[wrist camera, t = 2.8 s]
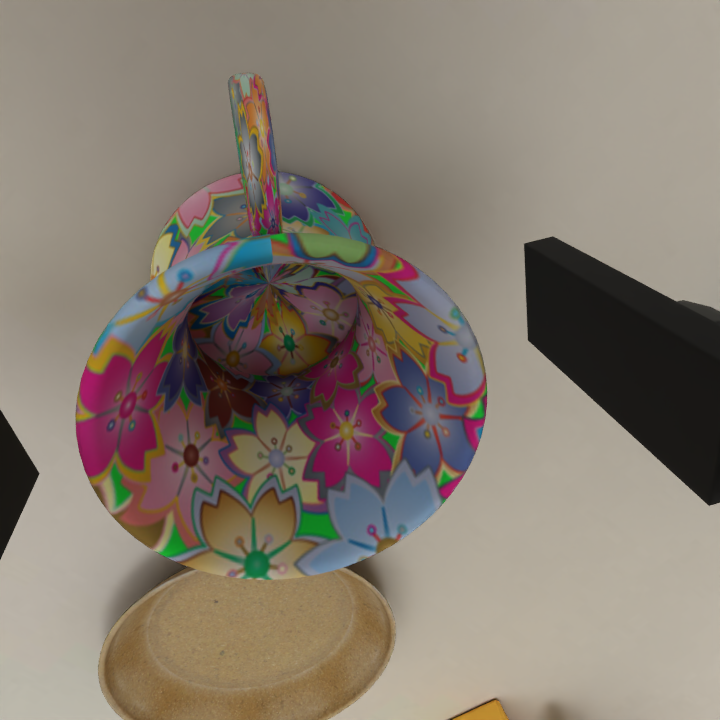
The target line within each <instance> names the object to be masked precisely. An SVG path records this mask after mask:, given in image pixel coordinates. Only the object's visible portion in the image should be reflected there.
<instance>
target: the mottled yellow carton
mask: <svg viewBox="0 0 720 720" xmlns="http://www.w3.org/2000/svg"><path fill="white" fill-rule="evenodd" d="M452 720H509V719H508V717H507V715H506V714H505V712H504V710H503V708H502V706H501V704H500V702H499V701H497V700H493V701H491V702H489V703H486V704H484V705H482V706H480V707H478V708H476V709H473V710H471V711H469V712H467V713H465V714H463V715H460V716H458V717H456V718H454V719H452Z"/></svg>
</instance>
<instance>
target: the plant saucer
mask: <svg viewBox="0 0 720 720" xmlns="http://www.w3.org/2000/svg"><path fill="white" fill-rule="evenodd" d="M395 636H396V627H395V620H394V616H393V613H392V611H391V608H390V606H389V604H388V603H387V601H386V599H385V598H384V597H383V595H382V594H381V593H380V592H379V591H378V590H377V589H376V588H375V587H374V586H373V585H372V584H371V583H370V582H368V581H367V580H366V579H364V578H363V577H361V576H360V575H358V574H357V573H355V572H353V571H352V570H350V569H348V568H347V567H343V568H340V569H336V570H333V571H330V572H325V573H321V574H317V575H312V576H306V577H300V578H291V579H278V580H255V579H241V578H232V577H226V576H221V575H215V574H211V573H207V572H204V571H200V570H196V569H194V568H191V567H187V568H185V569H183V570H182V571H180V572H178V573H176V574H174V575H173V576H171V577H169V578H168V579H166V580H164V581H163V582H161V583H160V584H158V585H157V586H155V587H154V588H153V589H151V590H150V591H149V592H147V593H146V594H145V595H144V596H142V597H141V598H140V599H139V600H138V601H137V602H136V603H134V604H133V605H132V606H131V607H130V608H129V609H128V610H127V611H126V612H125V613H124V614H123V615H122V616H121V617H120V619H119V620H118V621H117V622H116V624H115V625H114V626H113V628H112V629H111V631H110V632H109V634H108V636H107V638H106V640H105V642H104V644H103V647H102V650H101V653H100V658H99V664H98V676H99V683H100V687H101V690H102V693H103V695H104V697H105V699H106V700H107V702H108V703H109V705H110V706H111V707H112V708H113V710H114V711H115V712H116V713H117V714H118V715H119V716H120V717H121V718H122V719H124V720H328V719H329V718H331V717H333V716H335V715H336V714H338V713H340V712H341V711H343V710H344V709H345V708H347V707H349V706H350V705H351V704H353V703H354V702H355V701H356V700H358V699H359V698H360V697H361V696H362V695H363V694H364V693H366V692H367V691H368V690H369V689H370V688H371V686H372V685H373V684H374V683H375V681H376V680H377V679H378V678H379V677H380V676H381V674H382V673H383V671H384V670H385V668H386V666H387V664H388V662H389V660H390V657H391V655H392V652H393V648H394V644H395Z"/></svg>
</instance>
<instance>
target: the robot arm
mask: <svg viewBox="0 0 720 720" xmlns="http://www.w3.org/2000/svg"><path fill="white" fill-rule="evenodd" d="M524 251H525V276H526V302H527V327H528V341H529V342H531V343H532V344H533V345H534V346H535V347H536V348H537V349H538V350H539V351H540V352H541V353H543V354H544V355H545V356H546V357H547V358H548V359H549V360H550V361H551V362H552V363H554V364H555V365H556V366H557V367H558V368H559V369H560V370H561V371H562V372H563V373H564V374H566V375H567V376H568V377H569V378H570V379H571V380H572V381H573V382H574V383H575V384H576V385H578V386H579V387H580V388H581V389H582V390H583V391H584V392H585V393H586V394H587V395H588V396H590V397H591V398H592V399H593V400H594V401H595V402H596V403H597V404H598V405H599V406H601V407H602V408H603V409H604V410H605V411H606V412H607V413H608V414H609V415H610V416H611V417H613V418H614V419H615V420H616V421H617V422H618V423H619V424H620V425H621V426H622V427H623V428H625V429H626V430H627V431H628V432H629V433H630V434H631V435H632V436H633V437H634V438H636V439H637V440H638V441H639V442H640V443H641V444H642V445H643V446H644V447H645V448H646V449H648V450H649V451H650V452H651V453H652V454H653V455H654V456H655V457H656V458H657V459H658V460H660V461H661V462H662V463H663V464H664V465H665V466H666V467H667V468H668V469H669V470H671V471H672V472H673V473H674V474H675V475H676V476H677V477H678V478H679V479H680V480H681V481H683V482H684V483H685V484H686V485H687V486H688V487H689V488H690V489H691V490H692V491H693V492H695V493H696V494H697V495H698V496H699V497H700V498H701V499H702V500H703V501H704V502H705V503H707V504H708V505H709V506H710V505H713V504H717V503H720V312H719V311H717V310H715V309H713V308H711V307H708V306H704V305H700V304H696V303H692V302H688V301H684V300H682V301H678V302H676V301H674V300H672V299H671V298H669V297H667V296H665V295H663V294H661V293H659V292H657V291H655V290H653V289H652V288H650V287H648V286H646V285H644V284H642V283H640V282H638V281H636V280H634V279H633V278H631V277H629V276H627V275H625V274H623V273H621V272H619V271H617V270H616V269H614V268H612V267H610V266H608V265H606V264H604V263H602V262H600V261H598V260H597V259H595V258H593V257H591V256H589V255H587V254H585V253H583V252H581V251H580V250H578V249H576V248H574V247H572V246H570V245H568V244H566V243H564V242H562V241H561V240H559V239H557V238H555V237H549V238H545V239H541V240H537V241H533V242H529V243H525V244H524ZM38 476H39V472H38V470H37V469H36V467H35V465H34V464H33V462H32V461H31V459H30V457H29V456H28V454H27V452H26V451H25V449H24V447H23V446H22V444H21V443H20V441H19V439H18V438H17V436H16V434H15V433H14V431H13V430H12V428H11V426H10V425H9V423H8V421H7V420H6V418H5V416H4V415H3V413H2V412H1V410H0V559H1V557H2V555H3V553H4V550H5V548H6V546H7V544H8V542H9V539H10V537H11V535H12V533H13V531H14V528H15V526H16V524H17V522H18V520H19V517H20V515H21V513H22V511H23V509H24V507H25V504H26V502H27V500H28V498H29V496H30V493H31V491H32V489H33V487H34V485H35V482H36V480H37V478H38Z"/></svg>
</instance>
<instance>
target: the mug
mask: <svg viewBox="0 0 720 720" xmlns="http://www.w3.org/2000/svg"><path fill="white" fill-rule="evenodd" d="M228 87H229V95H230V102H231V108H232V115H233V122H234V129H235V136H236V142H237V149H238V156H239V162H240V169H241V173H240V174H236V175H232V176H228V177H226V178H223V179H220V180H217V181H215V182H213V183H211V184H209V185H207V186H205V187H204V188H202V189H201V190H199V191H197V192H196V193H195V194H193V195H192V196H191V197H190V198H188V199H187V200H186V201H185V202H184V203H183V204H182V205H181V206H180V207H179V208H178V209H177V210H176V211H175V212H174V214H173V215H172V216H171V217H170V219H169V220H168V222H167V223H166V225H165V226H164V228H163V230H162V232H161V234H160V236H159V238H158V241H157V244H156V246H155V249H154V253H153V257H152V263H151V270H150V282H149V283H147V284H146V285H145V286H143V287H142V288H141V289H140V290H139V291H138V292H137V293H136V294H134V295H133V296H132V297H131V298H130V299H129V300H128V301H127V302H126V303H125V304H124V305H123V306H122V308H121V309H120V310H119V311H118V312H117V313H116V315H115V316H114V317H113V318H112V319H111V321H110V322H109V324H108V325H107V327H106V328H105V330H104V331H103V333H102V334H101V336H100V337H99V339H98V341H97V343H96V345H95V347H94V349H93V351H92V353H91V355H90V357H89V359H88V361H87V364H86V367H85V370H84V373H83V375H82V378H81V382H80V387H79V392H78V396H77V405H76V435H77V441H78V447H79V453H80V456H81V459H82V462H83V466H84V469H85V472H86V474H87V476H88V479H89V481H90V483H91V485H92V487H93V489H94V491H95V492H96V494H97V496H98V497H99V499H100V501H101V502H102V504H103V505H104V506H105V508H106V509H107V510H108V511H109V513H110V514H111V515H112V516H113V517H114V518H115V520H116V521H117V522H118V523H119V524H120V525H121V526H122V527H123V528H124V529H125V530H127V531H128V532H129V533H130V534H131V535H132V536H134V537H135V538H136V539H137V540H139V541H140V542H142V543H143V544H145V545H146V546H147V547H149V548H150V549H152V550H154V551H156V552H157V553H159V554H161V555H163V556H164V557H167V558H169V559H171V560H173V561H175V562H178V563H180V564H182V565H185V566H188V567H191V568H194V569H196V570H200V571H204V572H207V573H211V574H215V575H221V576H226V577H232V578H241V579H255V580H278V579H291V578H300V577H306V576H312V575H317V574H321V573H325V572H330V571H333V570H336V569H340V568H343V567H346V566H349V565H352V564H354V563H357V562H359V561H362V560H364V559H366V558H369V557H371V556H373V555H375V554H377V553H379V552H381V551H383V550H384V549H386V548H388V547H390V546H392V545H393V544H395V543H397V542H398V541H400V540H401V539H403V538H404V537H406V536H407V535H409V534H410V533H411V532H412V531H414V530H415V529H416V528H418V527H419V526H420V525H421V524H423V523H424V522H425V521H426V520H427V519H428V518H429V517H430V516H432V515H433V514H434V513H435V511H436V510H437V509H438V508H439V507H440V506H441V505H442V504H443V503H444V502H445V501H446V499H447V498H448V497H449V496H450V495H451V493H452V492H453V491H454V489H455V488H456V487H457V485H458V484H459V482H460V481H461V479H462V478H463V476H464V474H465V472H466V471H467V469H468V467H469V465H470V463H471V461H472V459H473V457H474V454H475V452H476V450H477V447H478V444H479V441H480V438H481V435H482V431H483V426H484V422H485V416H486V407H487V383H486V373H485V367H484V363H483V358H482V354H481V351H480V348H479V345H478V342H477V339H476V337H475V335H474V333H473V331H472V329H471V327H470V325H469V323H468V321H467V320H466V318H465V317H464V315H463V314H462V312H461V311H460V309H459V308H458V306H457V305H456V304H455V303H454V302H453V300H452V299H451V298H450V297H449V296H448V294H447V293H446V292H445V291H444V290H443V289H442V288H441V287H440V286H439V285H438V284H436V283H435V282H434V281H433V280H432V279H431V278H430V277H428V276H427V275H426V274H424V273H423V272H422V271H421V270H419V269H418V268H417V267H415V266H413V265H412V264H410V263H408V262H407V261H405V260H403V259H402V258H400V257H398V256H396V255H394V254H392V253H389V252H387V251H385V250H383V249H381V248H378V247H375V246H374V243H373V241H372V238H371V236H370V234H369V232H368V230H367V228H366V226H365V225H364V223H363V222H362V220H361V219H360V217H359V216H358V215H357V214H356V212H355V211H354V210H353V209H352V208H351V207H350V206H349V205H348V204H347V203H346V202H345V201H344V200H343V199H342V198H340V197H339V196H338V195H337V194H335V193H334V192H332V191H331V190H329V189H328V188H326V187H325V186H323V185H321V184H319V183H317V182H315V181H312V180H310V179H307V178H304V177H302V176H298V175H294V174H290V173H284V172H278V170H277V161H276V153H275V146H274V138H273V131H272V124H271V117H270V111H269V105H268V99H267V93H266V89H265V85H264V81H263V79H262V78H261V76H259V75H258V74H254V73H240V74H235V75H233V76H231V77H230V78H229V81H228Z"/></svg>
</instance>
